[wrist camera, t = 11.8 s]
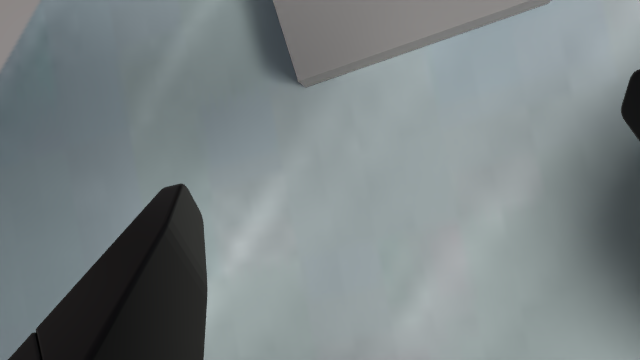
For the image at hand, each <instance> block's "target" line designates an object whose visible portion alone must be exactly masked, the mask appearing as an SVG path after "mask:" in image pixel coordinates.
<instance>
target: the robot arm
mask: <svg viewBox="0 0 640 360" xmlns="http://www.w3.org/2000/svg"><path fill="white" fill-rule="evenodd" d="M621 113H622V117H623V119H624V121H625V122H626V123H627V125H628V126H629V127H630V129H631V130H632V131H633V133H634V134H635V135H636V137H637V138H638V139H639V141H640V69H639V70H637V71H635V72H634V73H633V74H632V76H631V77H630V80H629V83H628V87H627V90H626V93H625V96H624V100H623V103H622V107H621ZM206 309H207V271H206V256H205V240H204V225H203V218H202V215H201V212H200V210H199V208H198V207H197V205H196V203H195V201H194V199H193V197H192V195H191V194H190V192H189V190H188V188H187V187H186V186H185V185H184V184H177V185H173V186H169V187H165V188H163V189H162V190H161V191H160V192H159V193H158V194H157V195H156V196H155V197H154V198H153V199H152V201H151V202H150V203H149V204H148V205H147V206H146V207H145V208H144V209H143V211H142V212H141V213H140V214H139V215H138V216H137V217H136V218H135V219H134V221H133V222H132V223H131V224H130V225H129V226H128V227H127V228H126V229H125V231H124V232H123V233H122V234H121V235H120V236H119V237H118V238H117V239H116V241H115V242H114V243H113V244H112V245H111V246H110V247H109V248H108V249H107V251H106V252H105V253H104V254H103V255H102V256H101V257H100V258H99V259H98V261H97V262H96V263H95V264H94V265H93V266H92V267H91V268H90V269H89V271H88V272H87V273H86V274H85V275H84V276H83V277H82V278H81V279H80V281H79V282H78V283H77V284H76V285H75V286H74V287H73V288H72V289H71V291H70V292H69V293H68V294H67V295H66V296H65V297H64V298H63V299H62V301H61V302H60V303H59V304H58V305H57V306H56V307H55V308H54V309H53V311H52V312H51V313H50V314H49V315H48V316H47V317H46V318H45V319H44V321H43V322H42V323H41V324H40V325H39V326H38V327H37V329H36V333H32V334H31V335H30V336H29V337H28V338H27V339H26V341H25V342H24V343H23V344H22V345H21V346H20V347H19V348H18V349H17V351H16V352H15V353H14V354H13V355H12V356H11V357H10V358H9V359H8V360H203V359H204V342H205V325H206Z"/></svg>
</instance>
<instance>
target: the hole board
mask: <svg viewBox="0 0 640 360" xmlns="http://www.w3.org/2000/svg"><path fill="white" fill-rule="evenodd" d="M550 1H552V0H273V3H274V6H275V9H276V12H277V15H278V19H279V22H280V25H281V28H282V31H283V35H284V38H285V41H286V44H287V47H288V50H289V54H290V57H291V60H292V63H293V66H294V70H295V73H296V76H297V79H298V82H299V83H301V84H302V85H303V86H304V87H308V86H311V85H314V84H317V83H320V82H323V81H326V80H329V79H332V78H334V77H337V76H340V75H343V74H346V73H349V72H352V71H355V70H358V69H360V68H363V67H366V66H369V65H372V64H375V63H378V62H381V61H384V60H386V59H389V58H392V57H395V56H398V55H401V54H404V53H407V52H410V51H412V50H415V49H418V48H421V47H424V46H427V45H430V44H433V43H436V42H438V41H441V40H444V39H447V38H450V37H453V36H456V35H459V34H462V33H464V32H467V31H470V30H473V29H476V28H479V27H482V26H485V25H488V24H490V23H493V22H496V21H499V20H502V19H505V18H508V17H511V16H514V15H516V14H519V13H522V12H525V11H528V10H531V9H534V8H537V7H540V6H542V5H545V4H548V3H549V2H550Z"/></svg>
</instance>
